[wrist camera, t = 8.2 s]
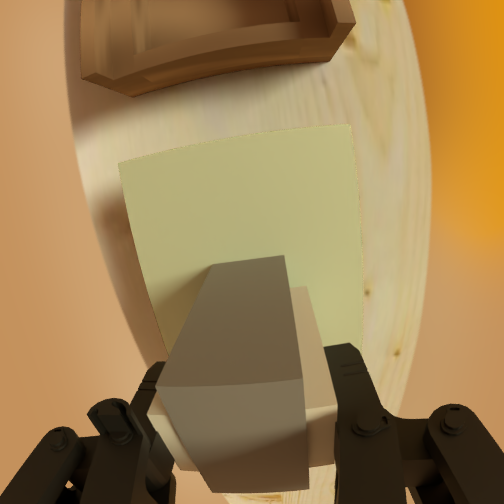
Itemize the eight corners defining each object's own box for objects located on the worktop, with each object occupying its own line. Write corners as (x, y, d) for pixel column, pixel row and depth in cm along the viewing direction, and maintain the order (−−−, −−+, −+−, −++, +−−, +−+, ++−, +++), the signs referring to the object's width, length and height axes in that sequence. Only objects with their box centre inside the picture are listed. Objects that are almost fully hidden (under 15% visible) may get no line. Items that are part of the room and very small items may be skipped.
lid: (132, 162, 13) (-20, 183, 4) (341, 127, 12) (460, 86, 4) (199, 406, 17) (169, 527, 9) (352, 392, 16) (386, 515, 8)
